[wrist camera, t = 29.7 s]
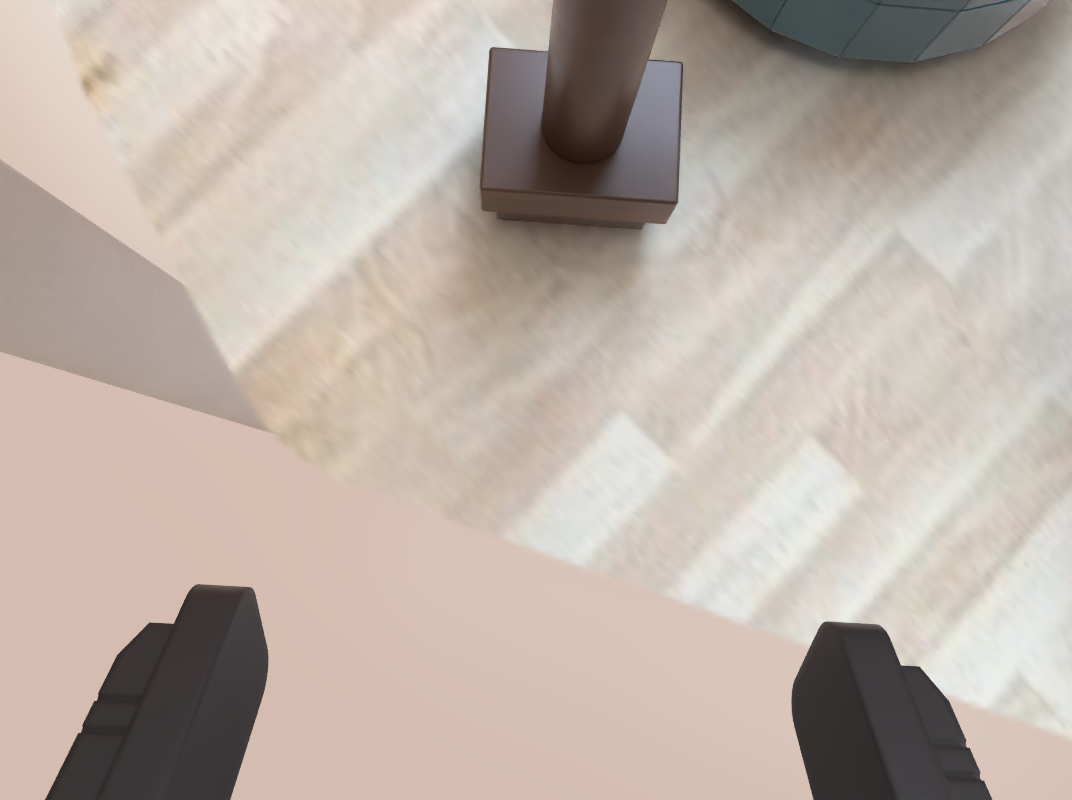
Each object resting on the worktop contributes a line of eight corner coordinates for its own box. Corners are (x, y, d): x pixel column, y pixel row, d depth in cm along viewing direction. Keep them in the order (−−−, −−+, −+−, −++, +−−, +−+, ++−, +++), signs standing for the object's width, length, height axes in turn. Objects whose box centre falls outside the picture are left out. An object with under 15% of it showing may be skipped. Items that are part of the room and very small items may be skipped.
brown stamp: (482, 231, 24) (465, 22, 13) (491, 105, 24) (482, -189, 14) (655, 243, 24) (770, 46, 14) (660, 118, 24) (775, -164, 14)
